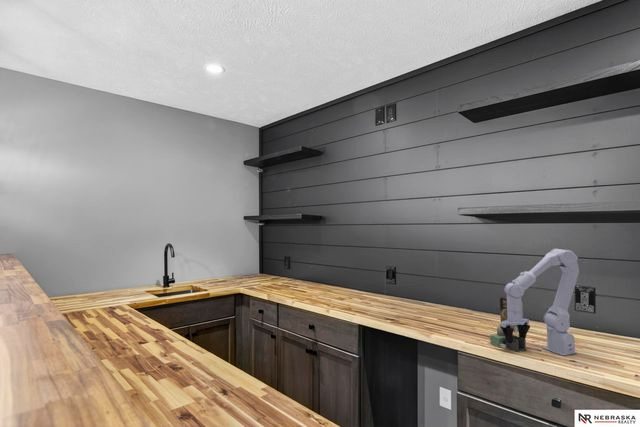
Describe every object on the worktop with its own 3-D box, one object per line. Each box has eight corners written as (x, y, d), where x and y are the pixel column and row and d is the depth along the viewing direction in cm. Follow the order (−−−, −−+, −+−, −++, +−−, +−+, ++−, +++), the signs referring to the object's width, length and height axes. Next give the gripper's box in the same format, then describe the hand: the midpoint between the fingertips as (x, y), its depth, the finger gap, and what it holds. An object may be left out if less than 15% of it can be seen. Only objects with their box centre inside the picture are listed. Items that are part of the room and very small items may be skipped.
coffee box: (500, 327, 182) (499, 297, 183) (509, 326, 185) (508, 296, 185) (515, 332, 174) (514, 300, 174) (524, 330, 176) (523, 299, 177)
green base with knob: (520, 346, 154) (520, 330, 154) (504, 349, 151) (503, 333, 151) (506, 341, 161) (506, 326, 161) (490, 343, 158) (489, 328, 158)
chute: (505, 347, 153) (505, 336, 153) (513, 346, 155) (513, 334, 155) (517, 352, 147) (516, 340, 147) (525, 350, 149) (525, 339, 149)
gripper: (509, 314, 145) (511, 346, 145) (534, 311, 150) (536, 342, 149) (496, 310, 152) (497, 341, 151) (520, 307, 157) (521, 337, 156)
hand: (515, 341), depth 151 cm, fingers open, 7 cm apart
